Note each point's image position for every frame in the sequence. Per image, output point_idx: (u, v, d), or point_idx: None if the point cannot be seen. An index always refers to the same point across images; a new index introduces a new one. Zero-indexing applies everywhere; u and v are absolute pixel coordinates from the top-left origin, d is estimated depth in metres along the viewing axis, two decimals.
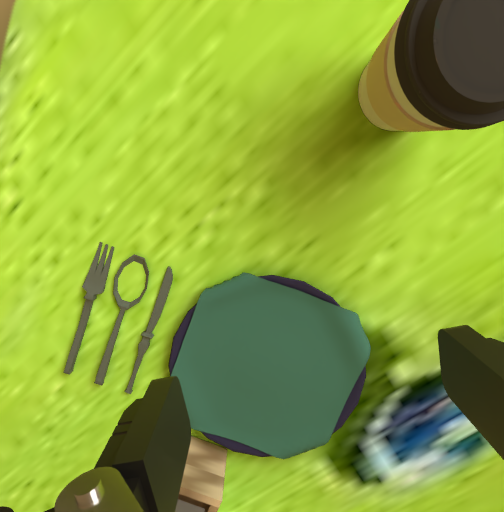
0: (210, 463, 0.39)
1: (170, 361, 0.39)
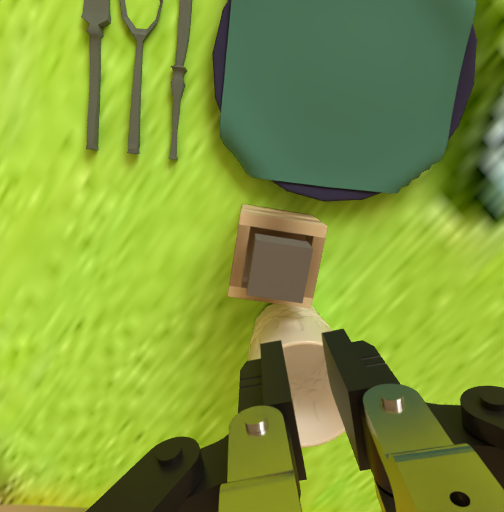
0: (296, 216, 0.30)
1: (216, 90, 0.29)
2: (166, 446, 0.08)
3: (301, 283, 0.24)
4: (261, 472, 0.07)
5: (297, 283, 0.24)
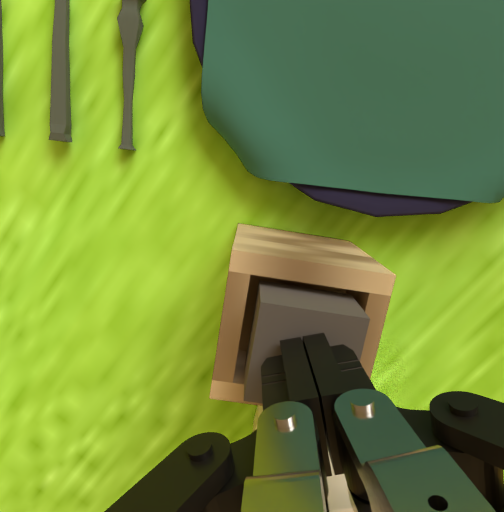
0: (329, 246, 0.18)
1: (195, 29, 0.17)
2: (198, 441, 0.08)
3: None
4: (295, 467, 0.07)
5: None
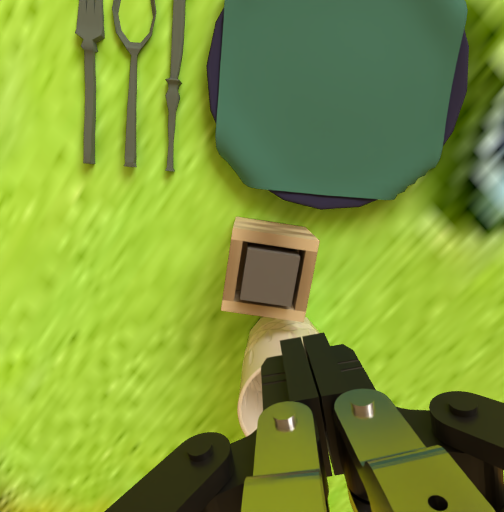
0: (289, 228, 0.30)
1: (211, 102, 0.29)
2: (198, 441, 0.08)
3: (289, 288, 0.26)
4: (296, 467, 0.07)
5: (286, 288, 0.26)
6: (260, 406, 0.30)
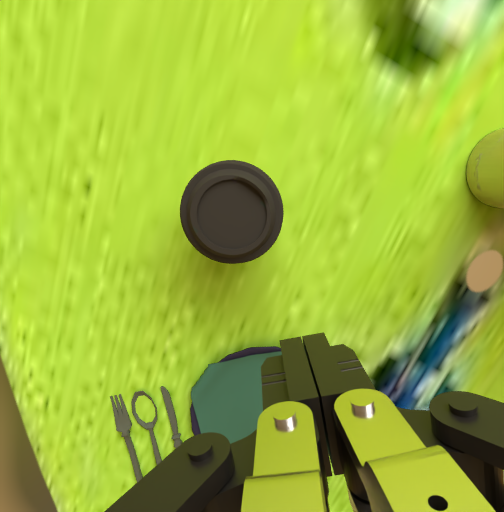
0: None
1: None
2: (197, 441, 0.08)
3: None
4: (296, 467, 0.07)
5: None
6: None
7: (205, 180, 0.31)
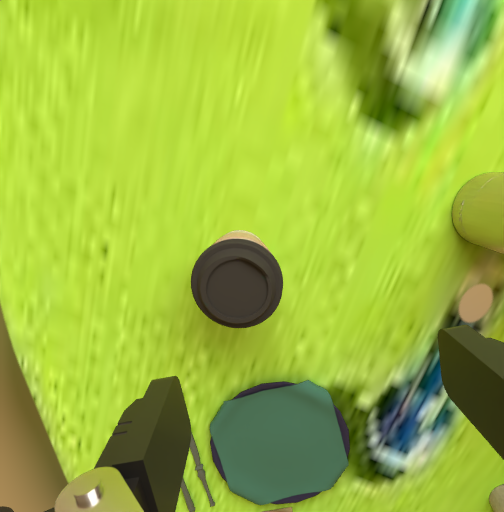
0: None
1: (221, 475, 0.56)
2: None
3: None
4: None
5: None
6: None
7: (212, 261, 0.35)
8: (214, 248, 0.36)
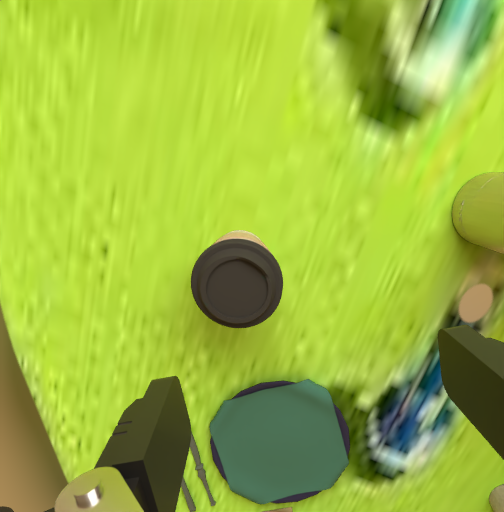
0: None
1: (222, 474, 0.56)
2: None
3: None
4: None
5: None
6: None
7: (212, 261, 0.35)
8: (214, 248, 0.36)
